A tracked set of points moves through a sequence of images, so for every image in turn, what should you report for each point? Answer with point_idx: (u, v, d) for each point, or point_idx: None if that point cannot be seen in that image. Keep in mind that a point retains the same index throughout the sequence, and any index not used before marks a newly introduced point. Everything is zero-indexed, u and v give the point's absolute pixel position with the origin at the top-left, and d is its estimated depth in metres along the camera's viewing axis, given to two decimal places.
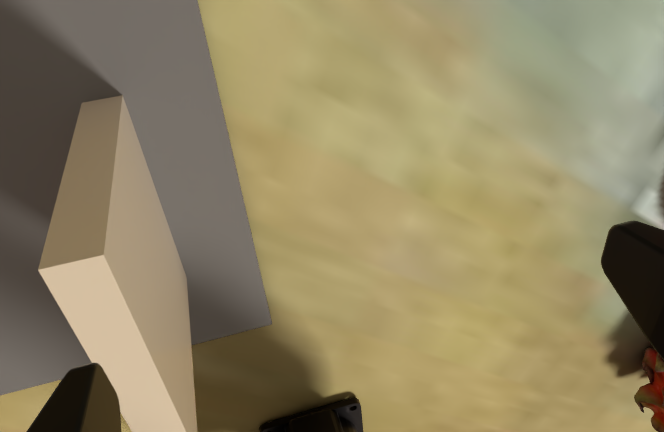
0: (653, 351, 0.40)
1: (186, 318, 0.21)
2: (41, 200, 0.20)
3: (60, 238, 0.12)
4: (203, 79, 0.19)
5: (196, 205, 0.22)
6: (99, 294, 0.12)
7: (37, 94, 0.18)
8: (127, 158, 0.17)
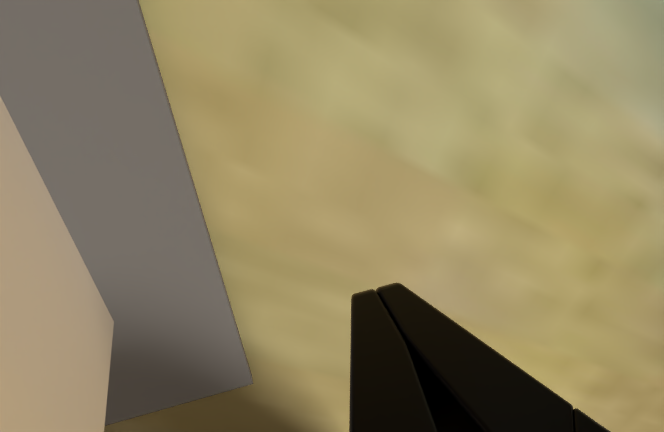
0: None
1: (96, 399, 0.13)
2: None
3: None
4: None
5: (118, 208, 0.14)
6: None
7: None
8: None
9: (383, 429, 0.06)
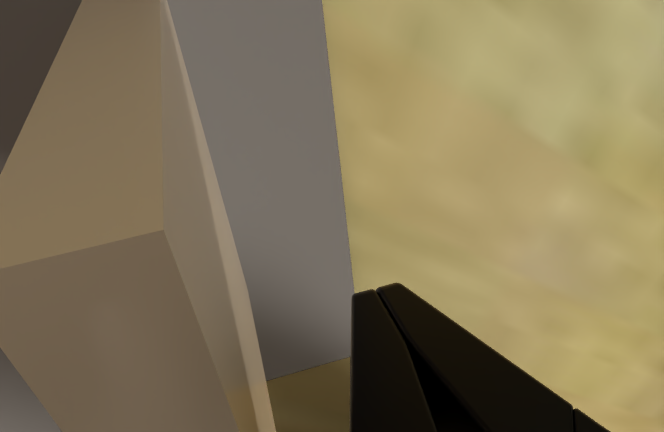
0: None
1: (259, 355, 0.13)
2: None
3: (32, 189, 0.04)
4: None
5: (269, 175, 0.14)
6: (145, 349, 0.04)
7: None
8: (176, 66, 0.09)
9: (383, 429, 0.06)
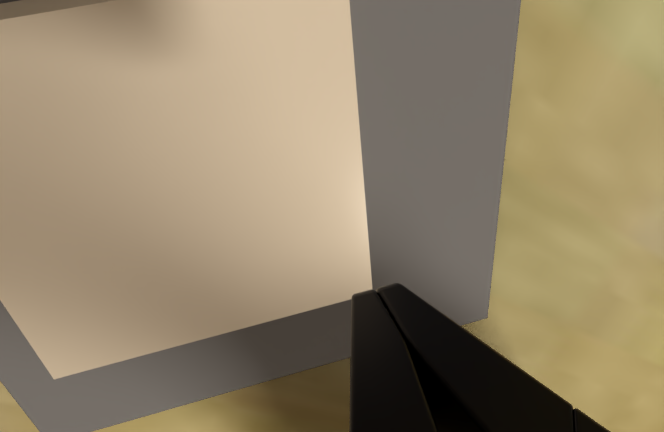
0: None
1: (263, 307, 0.15)
2: None
3: None
4: None
5: (445, 136, 0.15)
6: None
7: None
8: (203, 37, 0.10)
9: (383, 429, 0.06)
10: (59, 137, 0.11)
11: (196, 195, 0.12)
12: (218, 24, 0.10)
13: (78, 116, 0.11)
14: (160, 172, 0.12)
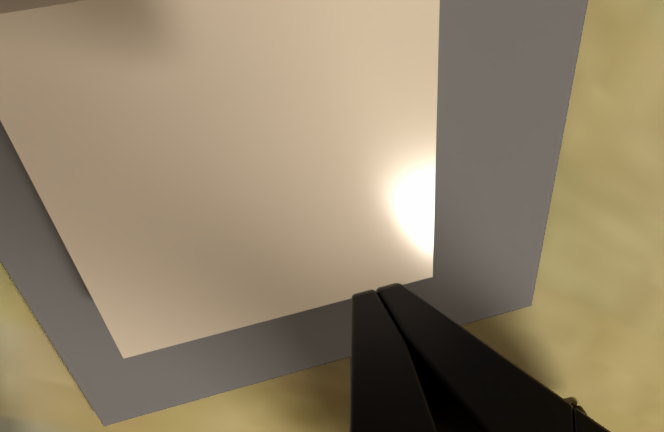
0: None
1: (328, 289, 0.15)
2: None
3: None
4: None
5: (507, 122, 0.15)
6: None
7: None
8: (300, 16, 0.11)
9: (383, 429, 0.06)
10: (154, 114, 0.11)
11: (277, 175, 0.12)
12: (315, 4, 0.10)
13: (174, 93, 0.11)
14: (245, 151, 0.12)
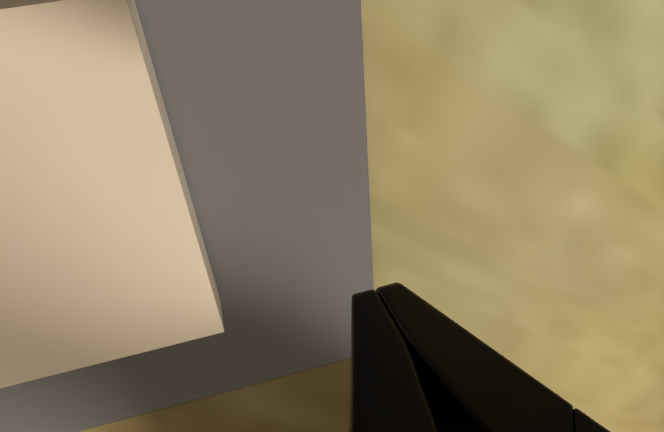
0: None
1: (99, 346, 0.14)
2: None
3: None
4: None
5: (298, 169, 0.14)
6: None
7: None
8: None
9: (383, 429, 0.06)
10: None
11: None
12: None
13: None
14: None
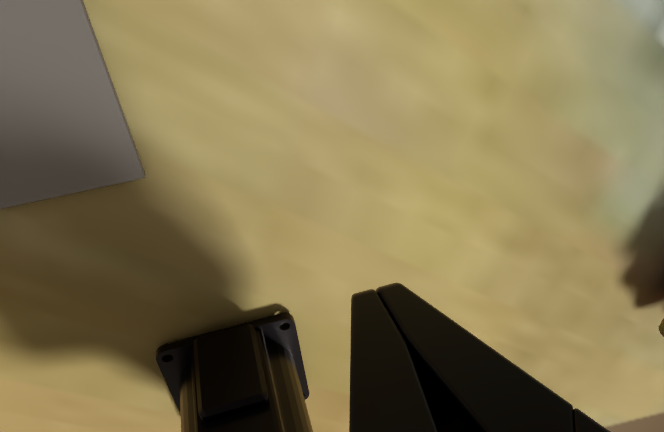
0: None
1: None
2: None
3: None
4: None
5: None
6: None
7: None
8: None
9: (383, 429, 0.06)
10: None
11: None
12: None
13: None
14: None
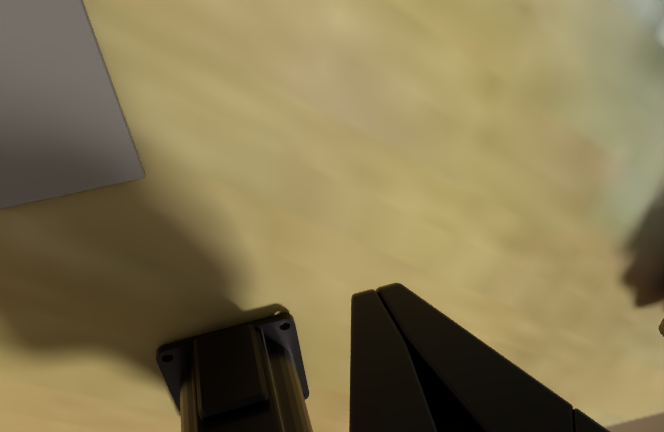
0: None
1: None
2: None
3: None
4: None
5: None
6: None
7: None
8: None
9: (383, 429, 0.06)
10: None
11: None
12: None
13: None
14: None
